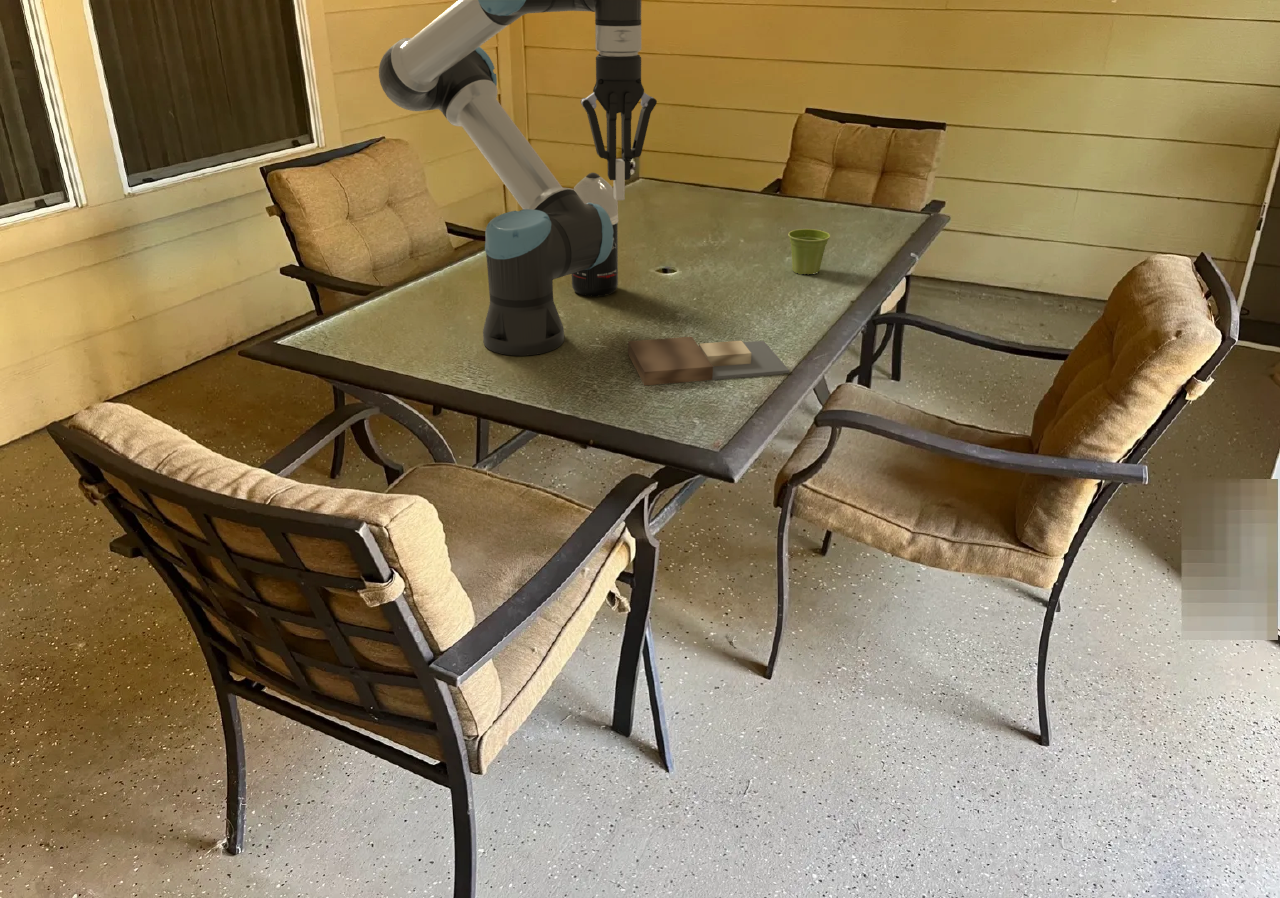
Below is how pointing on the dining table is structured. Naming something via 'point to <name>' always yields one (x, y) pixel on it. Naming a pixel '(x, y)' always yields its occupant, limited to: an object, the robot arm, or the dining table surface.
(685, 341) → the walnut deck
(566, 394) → the dining table surface
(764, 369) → the slate mat
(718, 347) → the birch tile
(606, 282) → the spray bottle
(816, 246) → the plant pot
